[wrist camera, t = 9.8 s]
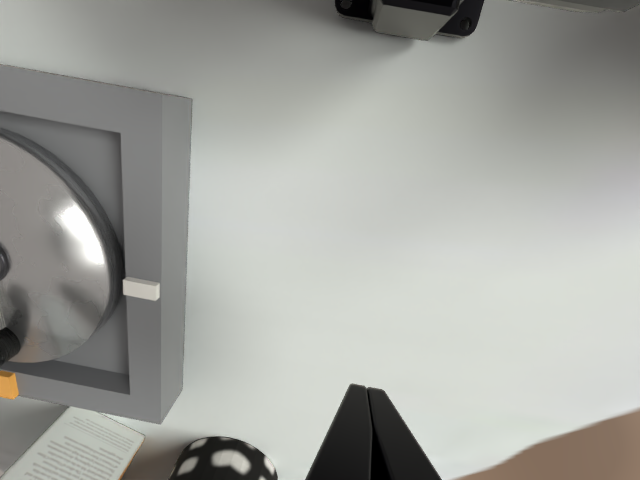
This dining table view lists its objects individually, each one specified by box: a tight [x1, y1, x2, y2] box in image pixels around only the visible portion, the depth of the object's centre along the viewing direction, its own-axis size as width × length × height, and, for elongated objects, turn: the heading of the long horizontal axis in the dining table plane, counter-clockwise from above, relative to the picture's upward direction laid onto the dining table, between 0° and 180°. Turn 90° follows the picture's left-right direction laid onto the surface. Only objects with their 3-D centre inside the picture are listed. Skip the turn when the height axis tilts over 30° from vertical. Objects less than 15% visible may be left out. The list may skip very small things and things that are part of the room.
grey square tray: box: [0, 64, 192, 424], centre depth 20 cm, size 20×20×3 cm
